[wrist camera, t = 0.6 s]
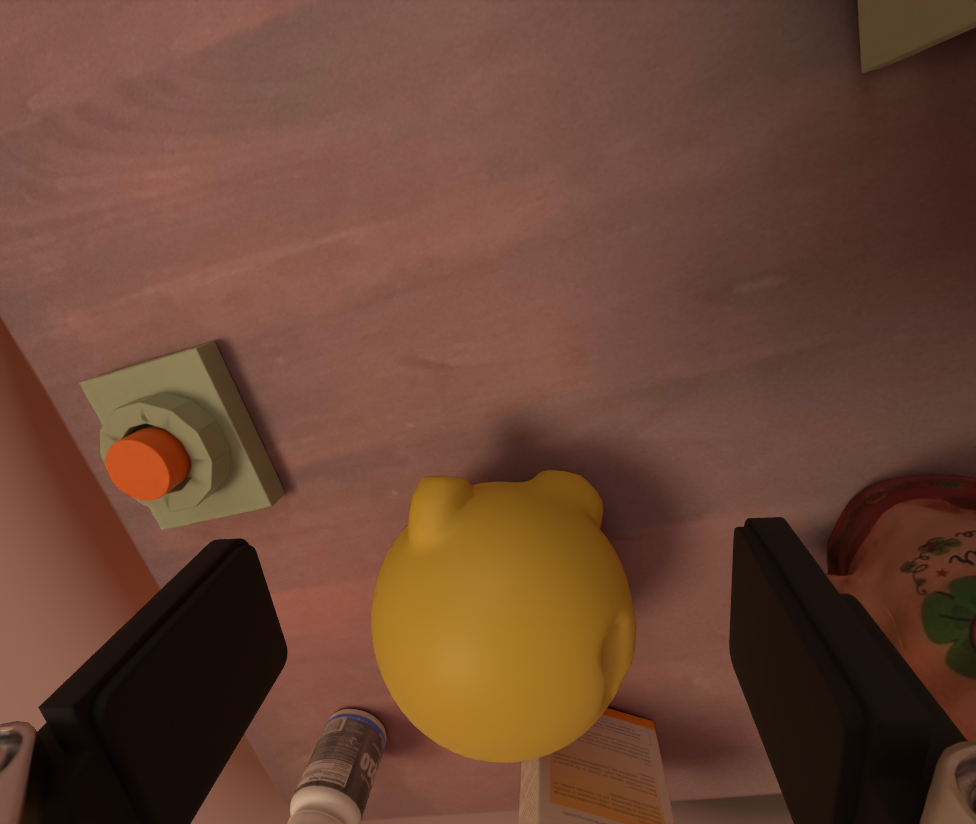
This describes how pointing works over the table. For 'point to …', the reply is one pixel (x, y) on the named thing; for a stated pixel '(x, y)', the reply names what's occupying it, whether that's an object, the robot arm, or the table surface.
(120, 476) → the button
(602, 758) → the supplement box
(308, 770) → the pill bottle
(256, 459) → the control block
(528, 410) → the table surface
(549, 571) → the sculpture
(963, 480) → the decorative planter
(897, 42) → the cabinet drawer
